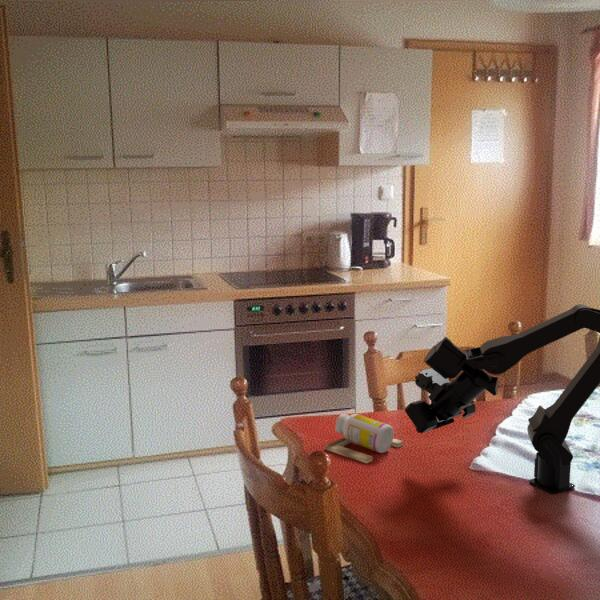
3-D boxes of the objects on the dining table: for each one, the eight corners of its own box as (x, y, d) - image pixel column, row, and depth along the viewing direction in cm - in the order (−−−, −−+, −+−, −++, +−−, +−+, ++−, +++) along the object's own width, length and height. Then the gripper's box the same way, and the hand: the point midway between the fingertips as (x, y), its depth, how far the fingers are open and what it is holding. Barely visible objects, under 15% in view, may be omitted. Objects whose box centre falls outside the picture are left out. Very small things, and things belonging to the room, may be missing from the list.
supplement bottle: (397, 434, 166) (352, 417, 174) (389, 420, 161) (342, 404, 169) (384, 459, 164) (339, 441, 171) (375, 446, 159) (329, 428, 167)
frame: (403, 445, 168) (403, 440, 168) (366, 463, 158) (366, 457, 157) (362, 433, 176) (362, 428, 176) (325, 449, 166) (325, 444, 165)
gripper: (465, 352, 156) (422, 393, 166) (413, 365, 143) (370, 408, 153) (496, 394, 152) (450, 433, 161) (445, 411, 139) (399, 452, 148)
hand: (418, 430), depth 156 cm, fingers closed
